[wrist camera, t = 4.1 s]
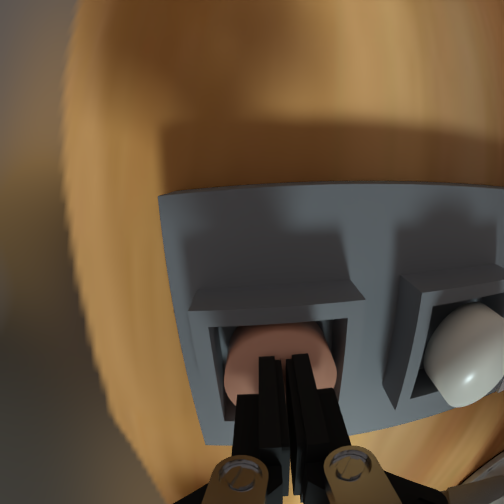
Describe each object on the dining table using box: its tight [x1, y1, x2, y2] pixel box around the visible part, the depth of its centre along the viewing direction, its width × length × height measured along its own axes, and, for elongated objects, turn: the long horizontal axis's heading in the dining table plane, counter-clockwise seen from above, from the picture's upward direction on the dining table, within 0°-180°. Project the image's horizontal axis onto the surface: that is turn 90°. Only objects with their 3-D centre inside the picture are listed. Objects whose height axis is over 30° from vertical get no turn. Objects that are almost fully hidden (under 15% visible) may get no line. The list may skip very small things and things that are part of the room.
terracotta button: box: [224, 321, 337, 406], centre depth 11 cm, size 4×4×2 cm
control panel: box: [158, 181, 504, 445], centre depth 12 cm, size 24×13×4 cm, turn 94°
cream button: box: [423, 302, 504, 407], centre depth 9 cm, size 4×4×2 cm
